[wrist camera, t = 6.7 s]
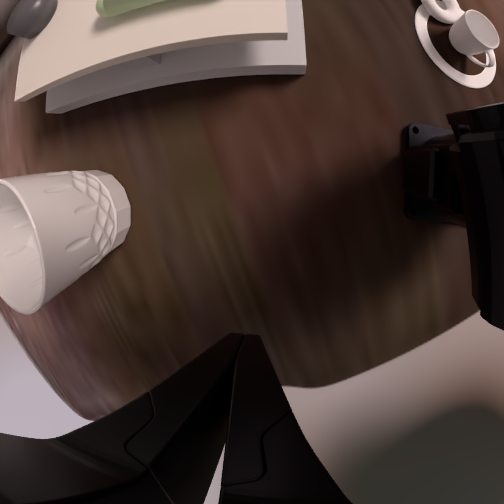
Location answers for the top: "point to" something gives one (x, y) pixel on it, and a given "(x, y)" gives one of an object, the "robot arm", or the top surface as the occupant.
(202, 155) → the top surface
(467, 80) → the teacup and saucer
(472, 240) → the robot arm
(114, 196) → the white cup
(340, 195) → the top surface
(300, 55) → the instrument base
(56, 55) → the instrument plate
